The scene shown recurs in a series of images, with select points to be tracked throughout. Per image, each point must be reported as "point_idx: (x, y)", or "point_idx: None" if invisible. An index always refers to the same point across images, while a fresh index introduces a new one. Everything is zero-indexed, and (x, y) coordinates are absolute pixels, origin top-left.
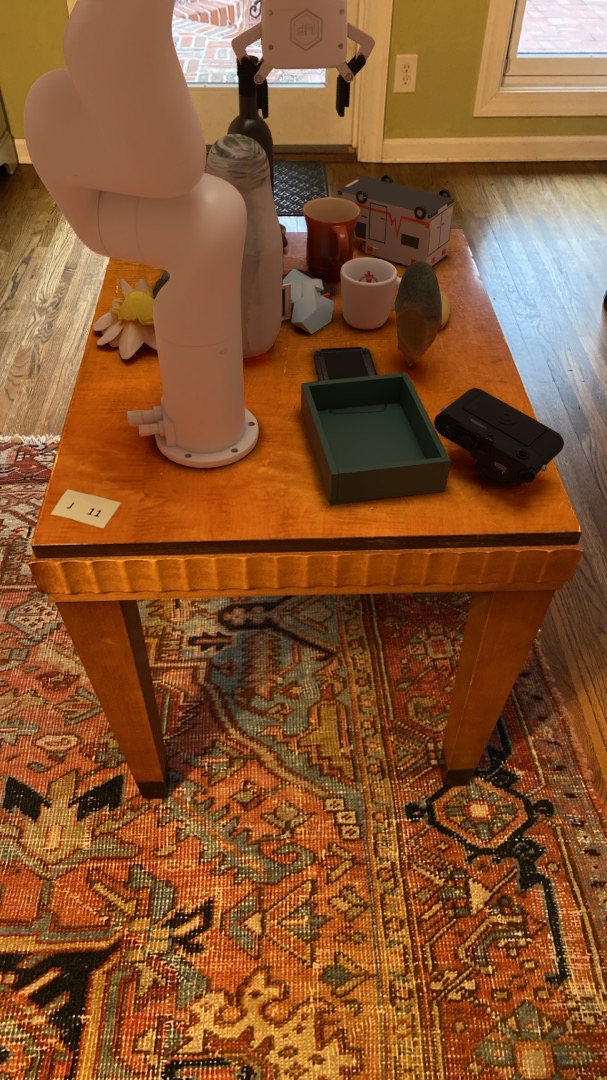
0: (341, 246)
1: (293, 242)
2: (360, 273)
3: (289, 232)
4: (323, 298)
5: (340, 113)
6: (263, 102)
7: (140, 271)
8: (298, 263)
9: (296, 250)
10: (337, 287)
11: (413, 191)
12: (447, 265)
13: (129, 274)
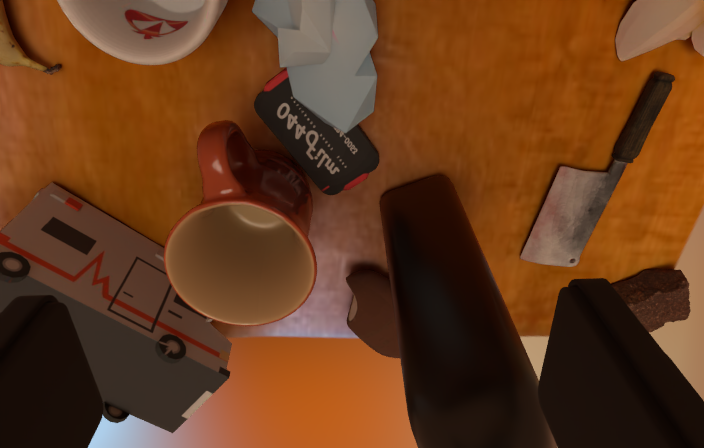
0: (218, 129)
1: (331, 303)
2: (171, 37)
3: (337, 336)
4: (278, 12)
5: (38, 305)
6: (654, 348)
7: (650, 211)
8: (326, 229)
9: (327, 276)
10: (246, 130)
11: None
12: (9, 210)
13: (675, 200)
